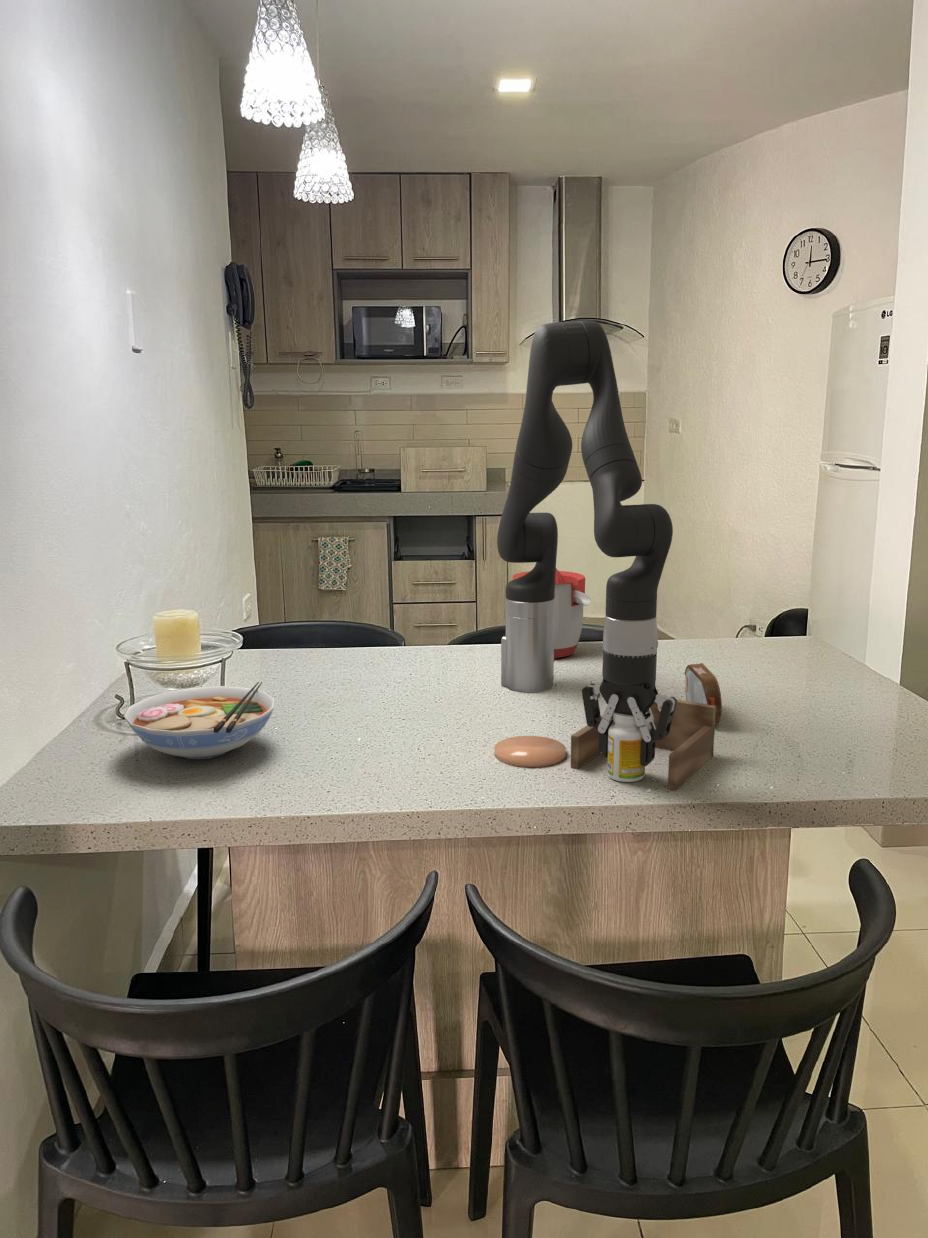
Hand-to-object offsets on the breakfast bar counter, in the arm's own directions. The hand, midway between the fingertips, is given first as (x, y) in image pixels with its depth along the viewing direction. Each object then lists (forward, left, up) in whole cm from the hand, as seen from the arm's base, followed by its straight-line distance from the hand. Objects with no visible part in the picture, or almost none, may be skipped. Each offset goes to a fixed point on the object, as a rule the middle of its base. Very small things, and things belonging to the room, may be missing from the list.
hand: (626, 759), depth 137 cm
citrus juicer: (-42, +56, -3) cm, 71 cm away
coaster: (-16, 0, -3) cm, 16 cm away
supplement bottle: (0, 0, -3) cm, 3 cm away
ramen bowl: (-60, -26, -3) cm, 65 cm away
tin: (0, +32, -3) cm, 33 cm away
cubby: (0, +7, -3) cm, 7 cm away
